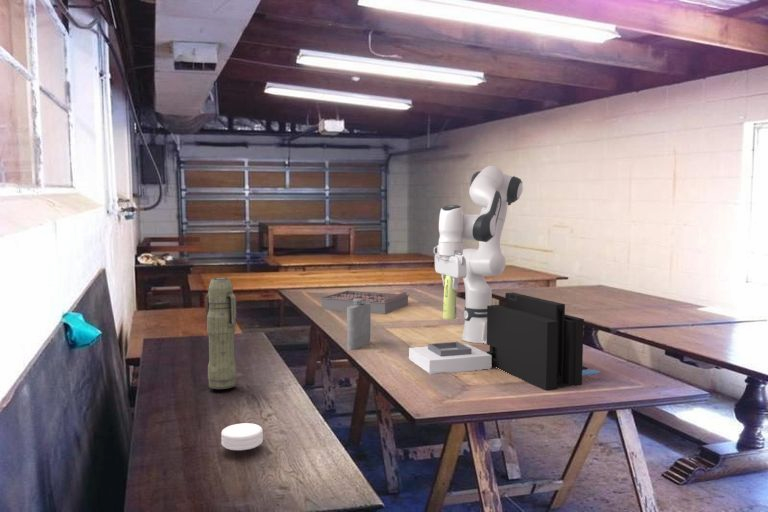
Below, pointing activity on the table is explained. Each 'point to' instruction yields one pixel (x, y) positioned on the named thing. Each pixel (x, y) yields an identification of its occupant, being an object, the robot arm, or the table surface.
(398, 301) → the organizer tray
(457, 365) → the white box with hole
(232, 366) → the thermos
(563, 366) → the game console
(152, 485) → the table surface
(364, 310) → the hip flask
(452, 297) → the tube
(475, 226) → the robot arm
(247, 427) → the coaster
